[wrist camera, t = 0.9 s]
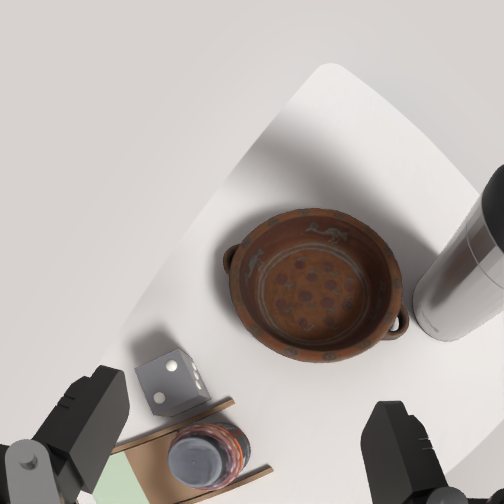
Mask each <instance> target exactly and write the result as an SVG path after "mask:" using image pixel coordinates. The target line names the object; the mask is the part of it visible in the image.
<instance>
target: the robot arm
mask: <svg viewBox="0 0 504 504" xmlns="http://www.w3.org/2000/svg"><path fill="white" fill-rule="evenodd" d="M413 309H414V313H415V316H416V319H417V321H418V323H419V324H420V326H421V327H422V328H423V330H424V331H425V332H426V333H427V334H429V335H430V336H431V337H433V338H435V339H437V340H441V341H455V340H458V339H460V338H461V337H463V336H465V335H466V334H468V333H470V332H471V331H473V330H474V329H476V328H478V327H479V326H481V325H482V324H484V323H485V322H487V321H488V320H490V319H491V318H493V317H494V316H496V315H497V314H499V313H500V312H501V311H503V310H504V165H502V166H501V167H499V168H498V169H497V170H496V171H495V173H494V174H493V176H492V177H491V179H490V180H489V182H488V184H487V185H486V187H485V189H484V190H483V192H482V193H481V195H480V197H479V198H478V200H477V201H476V203H475V204H474V206H473V207H472V209H471V211H470V212H469V214H468V215H467V217H466V218H465V220H464V221H463V223H462V224H461V226H460V227H459V229H458V230H457V231H456V233H455V234H454V236H453V237H452V238H451V240H450V241H449V243H448V244H447V245H446V247H445V248H444V249H443V251H442V252H441V253H440V255H439V256H438V257H437V259H436V260H435V261H434V263H433V264H432V265H431V266H430V268H429V269H428V270H427V272H426V273H425V274H424V276H423V277H422V278H421V279H420V281H419V282H418V283H417V285H416V287H415V290H414V294H413ZM129 409H130V404H129V398H128V392H127V386H126V380H125V375H124V372H123V371H122V370H118V369H114V368H111V367H107V366H103V365H100V366H99V367H98V368H97V369H96V370H95V372H94V373H93V374H92V376H91V377H90V378H89V377H86V376H83V377H82V378H80V379H78V380H77V381H75V382H74V383H72V384H71V385H70V387H69V388H68V389H67V391H66V392H65V394H64V396H63V397H62V398H61V399H60V400H59V402H58V403H57V406H55V407H54V409H53V410H52V411H51V413H50V414H49V416H48V417H47V418H46V420H45V421H44V423H43V424H42V425H41V427H40V428H39V430H38V431H37V433H36V434H35V435H34V437H33V438H32V439H31V440H29V439H24V440H19V441H17V442H15V443H13V444H12V445H11V446H7V445H2V444H0V504H79V503H78V500H77V497H78V494H79V492H80V490H82V491H84V492H87V493H90V494H92V493H93V491H94V489H95V487H96V485H97V483H98V480H99V478H100V476H101V474H102V472H103V469H104V467H105V465H106V463H107V461H108V459H109V457H110V455H111V452H112V450H113V448H114V446H115V444H116V442H117V440H118V438H119V436H120V434H121V431H122V429H123V427H124V425H125V423H126V421H127V419H128V415H129ZM428 438H429V437H428V435H427V433H426V430H425V428H424V426H423V424H422V423H421V422H420V421H419V420H418V419H417V418H416V417H415V416H414V415H408V413H407V411H406V409H405V406H404V404H403V403H402V402H401V401H379V402H377V404H376V405H375V407H374V409H373V412H372V414H371V416H370V418H369V420H368V422H367V424H366V426H365V428H364V430H363V432H362V435H361V451H362V455H363V460H364V464H365V469H366V473H367V478H368V483H369V487H370V492H371V497H372V502H373V504H504V488H503V489H500V490H498V491H497V492H496V493H494V494H493V496H491V497H490V498H489V499H474V498H466V496H465V495H464V493H462V492H461V491H460V490H458V489H456V488H453V487H449V486H448V484H447V481H446V479H445V476H444V474H443V471H442V469H441V466H440V464H439V461H438V459H437V456H436V454H435V451H434V450H433V449H432V444H431V442H430V440H428Z"/></svg>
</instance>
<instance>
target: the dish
mask: <svg viewBox="0 0 504 504" xmlns="http://www.w3.org/2000/svg"><path fill="white" fill-rule="evenodd" d="M223 265H224V269H225V271H226V273H227V274H228V275H229V287H230V294H231V298H232V302H233V304H234V307H235V310H236V312H237V314H238V316H239V318H240V319H241V321H242V323H243V324H244V326H245V327H246V328H247V330H248V331H249V332H250V333H251V334H252V335H253V336H254V337H255V338H256V339H257V340H258V341H260V342H261V343H263V344H264V345H265V346H266V347H268V348H270V349H271V350H273V351H275V352H277V353H279V354H281V355H283V356H286V357H288V358H291V359H294V360H298V361H302V362H311V363H331V362H338V361H342V360H345V359H349V358H352V357H354V356H357V355H359V354H361V353H363V352H365V351H366V350H368V349H370V348H371V347H373V346H374V345H375V344H377V343H378V342H379V341H380V340H395V339H397V338H399V337H400V336H402V335H403V334H404V333H405V332H406V330H407V329H408V326H409V316H408V313H407V310H406V309H405V307H404V305H403V304H402V278H401V273H400V269H399V266H398V264H397V261H396V259H395V257H394V255H393V253H392V251H391V249H390V248H389V247H388V245H387V244H386V243H385V241H384V240H383V239H382V238H381V237H380V236H379V235H378V234H377V233H376V232H375V231H374V230H372V229H371V228H370V227H369V226H367V225H366V224H364V223H362V222H361V221H359V220H357V219H356V218H354V217H352V216H350V215H348V214H345V213H342V212H339V211H335V210H328V209H319V208H311V209H298V210H293V211H290V212H286V213H282V214H279V215H277V216H275V217H272V218H270V219H269V220H267V221H266V222H264V223H262V224H261V225H259V226H258V227H257V228H256V229H254V230H253V231H252V232H251V233H250V234H249V235H248V236H247V237H246V238H245V239H244V240H243V241H242V243H241V244H238V245H235V246H232V247H231V248H229V249H228V250H227V251H226V252H225V254H224V257H223ZM396 317H398V319H399V328H398V329H397V330H396V331H389V329H390V327H391V326H392V325H393V323H394V322H395V319H396Z"/></svg>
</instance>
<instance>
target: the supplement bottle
mask: <svg viewBox="0 0 504 504" xmlns="http://www.w3.org/2000/svg"><path fill="white" fill-rule="evenodd" d="M250 453H251V450H250V443H249V441H248V439H247V437H246V435H245V434H244V433H243V432H242V431H241V430H240V429H239V428H237V427H235V426H233V425H230V424H226V423H207V424H196V425H192V426H189V427H186V428H185V429H183V430H181V431H180V432H179V433H177V434H176V435H175V437H174V438H173V439H172V441H171V443H170V446H169V449H168V466H169V469H170V471H171V473H172V475H173V476H174V477H175V478H176V479H177V480H178V481H179V482H181V483H182V484H184V485H186V486H188V487H190V488H193V489H195V490H200V491H214V490H218V489H221V488H223V487H225V486H227V485H228V484H230V483H231V482H232V481H233V480H234V479H235V478H236V477H237V476H238V475H239V473H240V472H241V471H242V470H243V468H244V467H245V466H246V464H247V463H248V460H249V458H250Z"/></svg>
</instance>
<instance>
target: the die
mask: <svg viewBox="0 0 504 504" xmlns="http://www.w3.org/2000/svg"><path fill="white" fill-rule="evenodd" d="M135 372H136V374H137V377H138V379H139V382H140V384H141V387H142V389H143V392H144V394H145V397H146V399H147V401H148V404H149V406H150V408H151V411H152V413H153V415H156V416H166V417H172V416H174V415H177V414H179V413H181V412H184V411H186V410H188V409H190V408H193V407H195V406H197V405H199V404H202V403H204V402H206V401H208V400H210V399H211V397H210V395H209V393H208V391H207V389H206V387H205V385H204V383H203V381H202V379H201V376H200V374H199V372H198V370H197V368H196V366H195V364H194V362H193V360H192V358H191V357H189V356H188V355H187V354H185V353H184V352H183V351H181V350H180V349H179V348H178V349H176V350H173V351H171V352H169V353H167V354H165V355H163V356H161V357H159V358H157V359H154V360H152V361H150V362H148V363H146V364H144V365H142V366H139V367H137V368H135Z"/></svg>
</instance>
